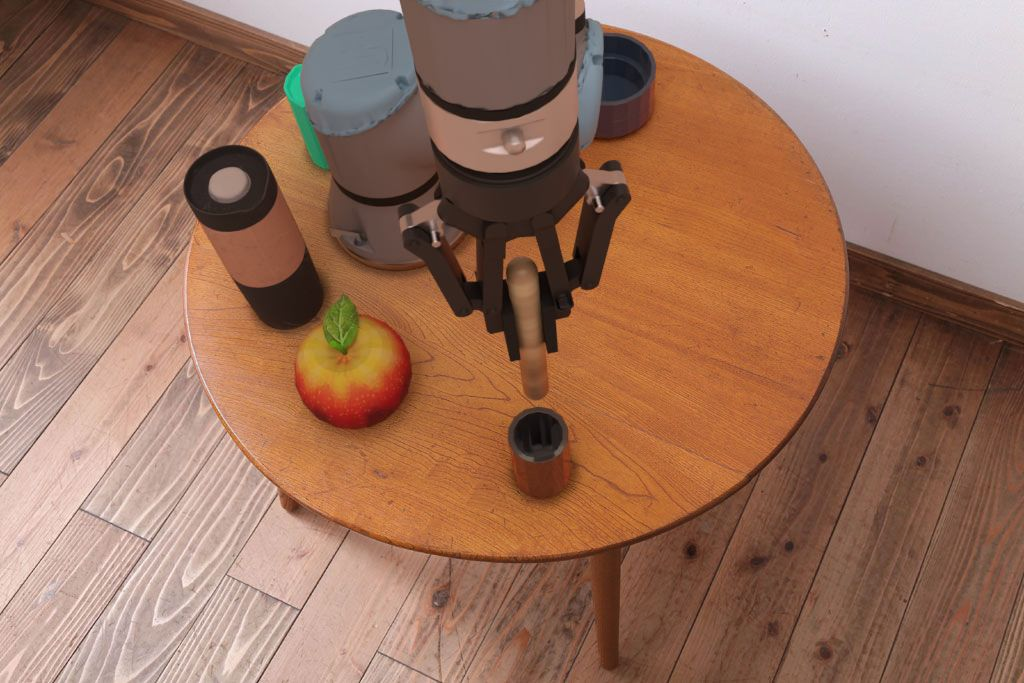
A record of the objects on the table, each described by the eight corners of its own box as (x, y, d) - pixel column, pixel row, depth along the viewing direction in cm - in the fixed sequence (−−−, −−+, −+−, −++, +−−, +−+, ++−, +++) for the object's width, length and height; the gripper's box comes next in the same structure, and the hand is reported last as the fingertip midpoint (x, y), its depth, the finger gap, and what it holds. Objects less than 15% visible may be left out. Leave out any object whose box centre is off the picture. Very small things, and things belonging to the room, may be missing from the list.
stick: (521, 384, 80) (501, 253, 63) (546, 379, 80) (533, 246, 63) (526, 407, 79) (508, 280, 62) (552, 401, 79) (540, 273, 62)
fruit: (302, 445, 96) (272, 400, 87) (313, 343, 101) (286, 290, 92) (415, 442, 95) (397, 397, 86) (421, 340, 100) (404, 287, 91)
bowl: (552, 82, 114) (550, 43, 109) (639, 64, 115) (641, 24, 109) (573, 150, 110) (571, 113, 104) (663, 131, 110) (667, 93, 105)
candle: (298, 148, 113) (267, 72, 102) (341, 118, 114) (315, 40, 104) (330, 179, 110) (302, 105, 100) (374, 148, 112) (350, 71, 101)
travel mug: (253, 271, 105) (184, 147, 88) (327, 263, 105) (272, 138, 87) (250, 336, 102) (177, 220, 84) (326, 328, 101) (269, 211, 84)
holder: (510, 453, 94) (501, 414, 86) (564, 442, 94) (561, 401, 86) (521, 504, 91) (513, 468, 83) (576, 492, 92) (574, 455, 84)
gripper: (364, 211, 49) (433, 410, 70) (670, 148, 49) (648, 364, 70) (345, 93, 52) (416, 316, 73) (631, 35, 53) (621, 273, 74)
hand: (530, 339), depth 72 cm, fingers closed on stick, 2 cm apart
